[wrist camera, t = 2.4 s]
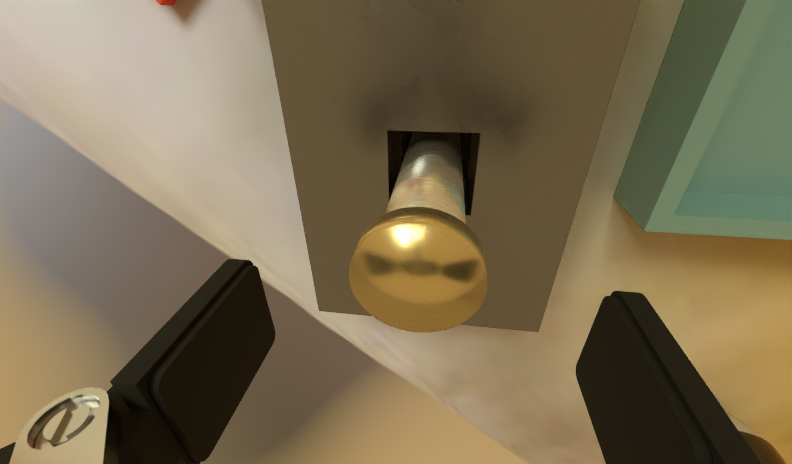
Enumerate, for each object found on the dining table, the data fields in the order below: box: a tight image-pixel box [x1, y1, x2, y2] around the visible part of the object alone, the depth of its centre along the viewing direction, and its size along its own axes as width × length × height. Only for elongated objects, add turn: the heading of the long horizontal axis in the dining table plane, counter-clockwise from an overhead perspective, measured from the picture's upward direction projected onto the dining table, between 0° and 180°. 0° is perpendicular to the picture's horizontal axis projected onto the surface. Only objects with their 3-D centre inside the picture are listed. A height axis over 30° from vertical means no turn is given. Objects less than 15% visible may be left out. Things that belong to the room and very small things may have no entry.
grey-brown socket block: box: [262, 0, 640, 332], centre depth 19 cm, size 20×14×5 cm
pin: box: [349, 131, 488, 332], centre depth 15 cm, size 4×4×13 cm
